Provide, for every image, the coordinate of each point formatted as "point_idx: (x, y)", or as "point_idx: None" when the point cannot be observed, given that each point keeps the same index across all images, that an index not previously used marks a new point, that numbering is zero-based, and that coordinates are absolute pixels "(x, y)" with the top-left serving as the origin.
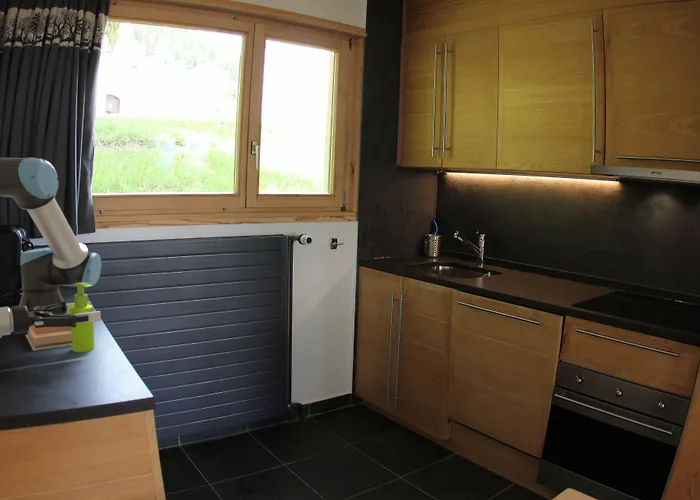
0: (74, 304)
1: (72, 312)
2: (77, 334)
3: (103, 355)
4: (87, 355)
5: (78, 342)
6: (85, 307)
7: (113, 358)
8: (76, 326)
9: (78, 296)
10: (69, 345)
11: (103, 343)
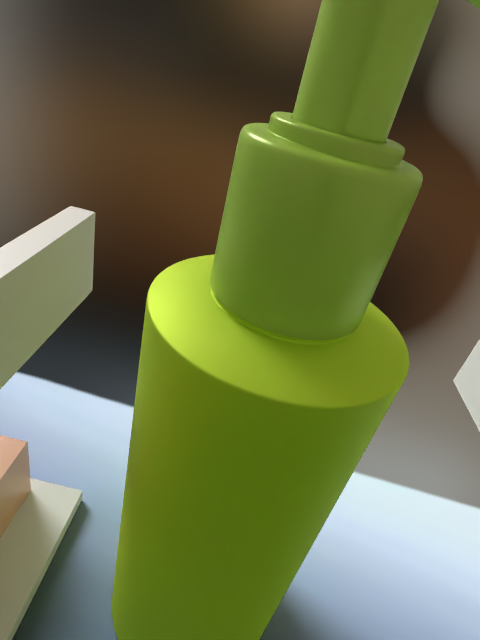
0: (10, 282)
1: (330, 447)
2: (288, 581)
3: (352, 538)
4: (309, 617)
5: (272, 614)
6: (374, 314)
7: (426, 524)
8: (313, 540)
9: (419, 187)
10: (9, 637)
11: (128, 438)
